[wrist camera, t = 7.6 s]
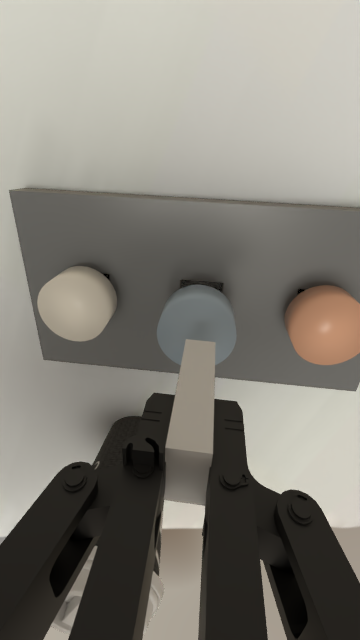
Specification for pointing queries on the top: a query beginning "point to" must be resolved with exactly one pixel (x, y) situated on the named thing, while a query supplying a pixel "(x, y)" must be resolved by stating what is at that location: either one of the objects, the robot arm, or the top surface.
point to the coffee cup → (105, 458)
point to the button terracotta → (324, 325)
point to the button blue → (197, 322)
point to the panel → (192, 273)
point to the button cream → (77, 303)
